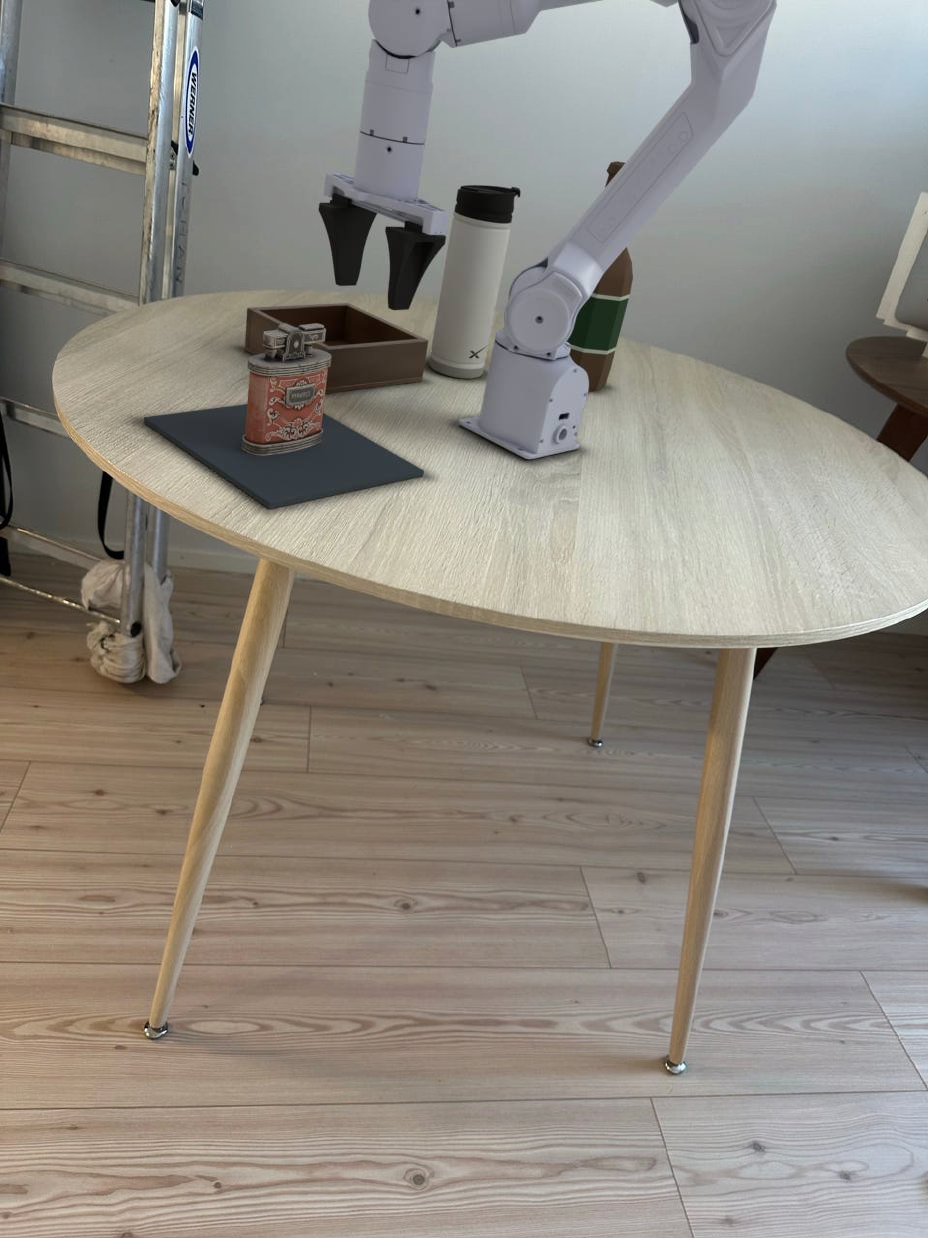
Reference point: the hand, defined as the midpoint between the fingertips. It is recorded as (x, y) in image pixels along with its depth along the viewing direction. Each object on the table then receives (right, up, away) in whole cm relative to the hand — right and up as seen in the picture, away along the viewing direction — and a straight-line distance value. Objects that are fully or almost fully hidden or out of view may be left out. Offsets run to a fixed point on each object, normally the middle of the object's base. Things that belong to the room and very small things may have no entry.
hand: (371, 296), depth 92 cm
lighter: (-7, -15, -8) cm, 19 cm away
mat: (-7, -16, -8) cm, 19 cm away
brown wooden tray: (-5, -3, +14) cm, 15 cm away
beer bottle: (+22, -2, +26) cm, 34 cm away
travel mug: (+8, -2, +21) cm, 22 cm away
